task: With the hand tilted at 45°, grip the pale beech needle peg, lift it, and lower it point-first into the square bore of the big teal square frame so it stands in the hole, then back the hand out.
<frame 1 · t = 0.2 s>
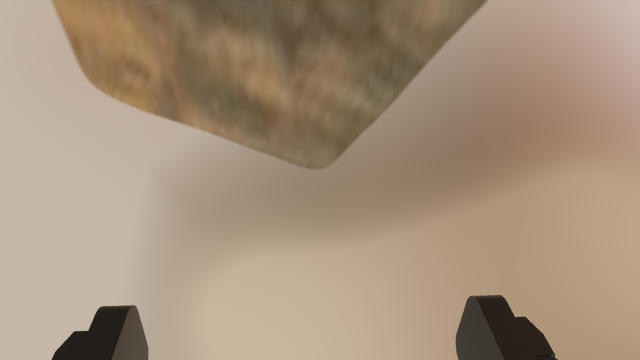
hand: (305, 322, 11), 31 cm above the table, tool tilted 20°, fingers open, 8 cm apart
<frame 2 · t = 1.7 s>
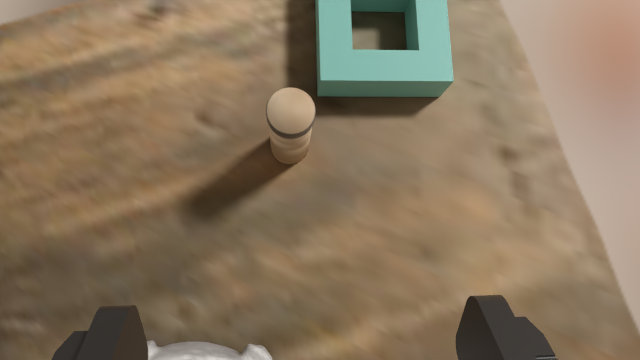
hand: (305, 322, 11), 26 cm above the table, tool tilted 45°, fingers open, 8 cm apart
teal square frame: (376, 39, 41), on the table
needle peg: (289, 145, 39), on the table
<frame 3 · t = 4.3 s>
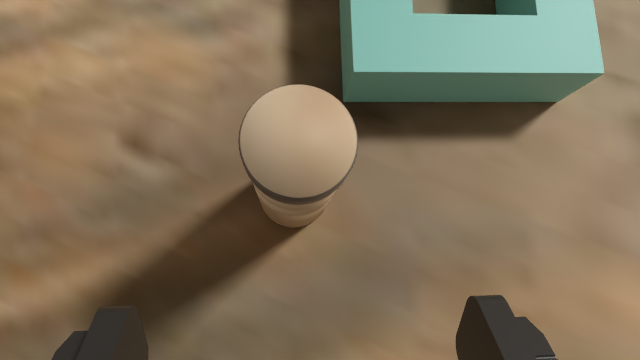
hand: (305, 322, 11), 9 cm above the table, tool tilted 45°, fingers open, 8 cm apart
teal square frame: (443, 2, 24), on the table
needle peg: (293, 193, 21), on the table
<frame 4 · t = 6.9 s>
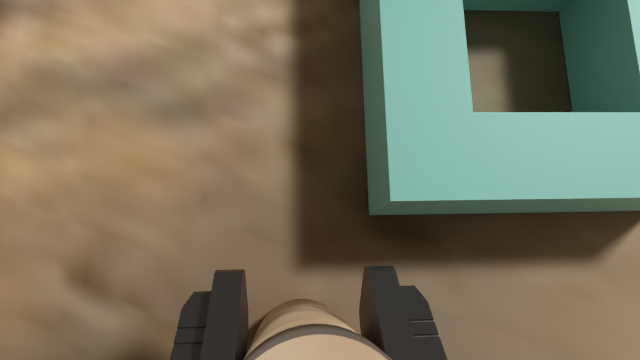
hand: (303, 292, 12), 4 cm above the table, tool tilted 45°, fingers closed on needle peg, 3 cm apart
teal square frame: (500, 74, 18), on the table
needle peg: (301, 347, 15), on the table, touching gripper
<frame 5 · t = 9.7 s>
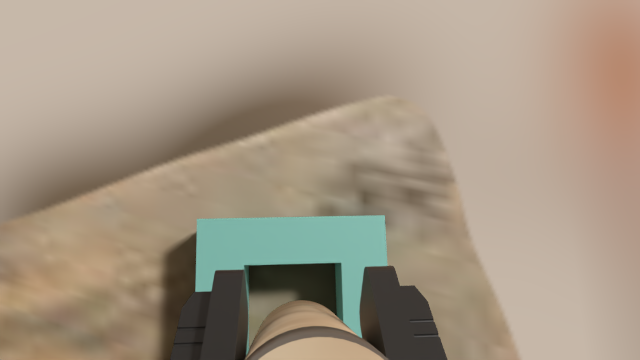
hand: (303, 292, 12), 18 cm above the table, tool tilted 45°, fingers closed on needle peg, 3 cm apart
teal square frame: (292, 308, 29), on the table
needle peg: (301, 348, 15), point 14 cm above the table, touching gripper
when the fingers open (6 cm above the table, at t = 12.7 s): needle peg drops 2 cm, resting in teal square frame.
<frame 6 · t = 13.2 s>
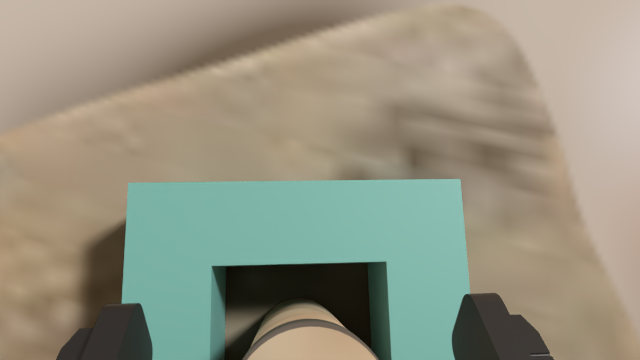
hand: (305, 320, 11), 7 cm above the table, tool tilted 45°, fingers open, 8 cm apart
teal square frame: (298, 338, 17), on the table
needle peg: (298, 341, 17), resting in teal square frame
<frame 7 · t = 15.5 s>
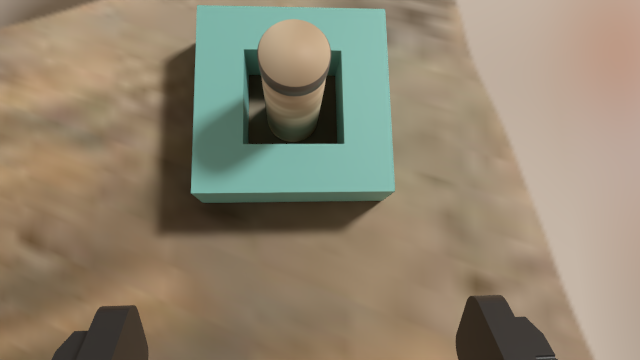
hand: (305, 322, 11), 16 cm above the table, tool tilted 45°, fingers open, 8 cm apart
teal square frame: (292, 116, 29), on the table
needle peg: (292, 117, 29), resting in teal square frame
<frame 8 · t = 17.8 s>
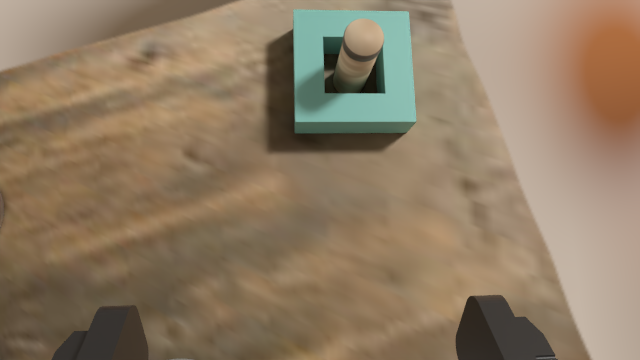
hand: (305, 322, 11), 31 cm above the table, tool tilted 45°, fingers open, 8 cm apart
teal square frame: (348, 80, 45), on the table
needle peg: (348, 81, 45), resting in teal square frame
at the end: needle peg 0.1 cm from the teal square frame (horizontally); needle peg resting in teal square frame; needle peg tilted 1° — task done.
